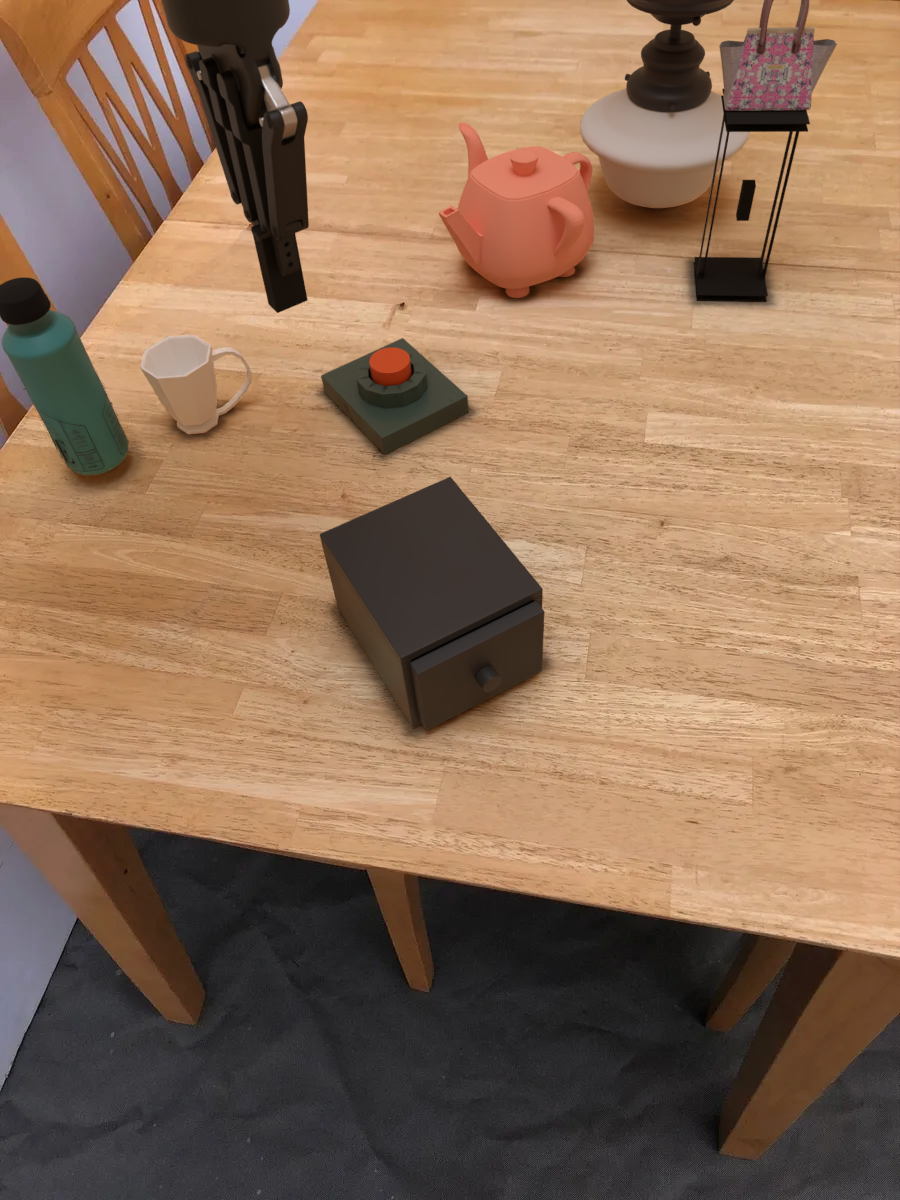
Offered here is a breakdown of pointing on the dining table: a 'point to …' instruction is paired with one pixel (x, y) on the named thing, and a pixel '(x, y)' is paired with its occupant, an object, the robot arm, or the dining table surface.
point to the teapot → (522, 214)
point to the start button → (390, 366)
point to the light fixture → (663, 116)
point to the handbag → (761, 104)
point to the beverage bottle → (60, 379)
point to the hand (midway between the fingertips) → (288, 302)
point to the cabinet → (421, 579)
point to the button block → (395, 399)
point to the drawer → (478, 664)
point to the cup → (189, 380)
